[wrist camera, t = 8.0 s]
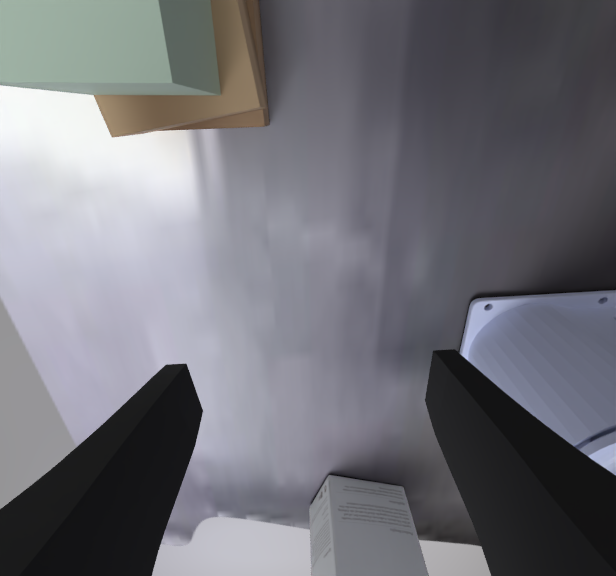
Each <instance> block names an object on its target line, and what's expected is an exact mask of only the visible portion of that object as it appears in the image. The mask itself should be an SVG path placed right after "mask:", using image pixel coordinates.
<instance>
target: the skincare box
mask: <svg viewBox="0 0 616 576" xmlns="http://www.w3.org/2000/svg"><path fill="white" fill-rule="evenodd" d="M309 513H310V541H311V543H310V544H311V576H429V575H428V572H427V568H426V565H425V561H424V558H423V554H422V551H421V547H420V544H419V540H418V536H417V533H416V529H415V526H414V522H413V519H412V515H411V512H410V508H409V505H408V501H407V498H406V494H405V491H404V487H403V486H397V485H390V484H384V483H378V482H371V481H365V480H359V479H352V478H346V477H340V476H334V475H329V476H328V477H327V479H326V480H325V482H324V484H323V485H322V487H321V489H320V491H319V492H318V494H317V496H316V497H315V499H314V501H313V503H312V504H311V506H310V508H309Z"/></svg>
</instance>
